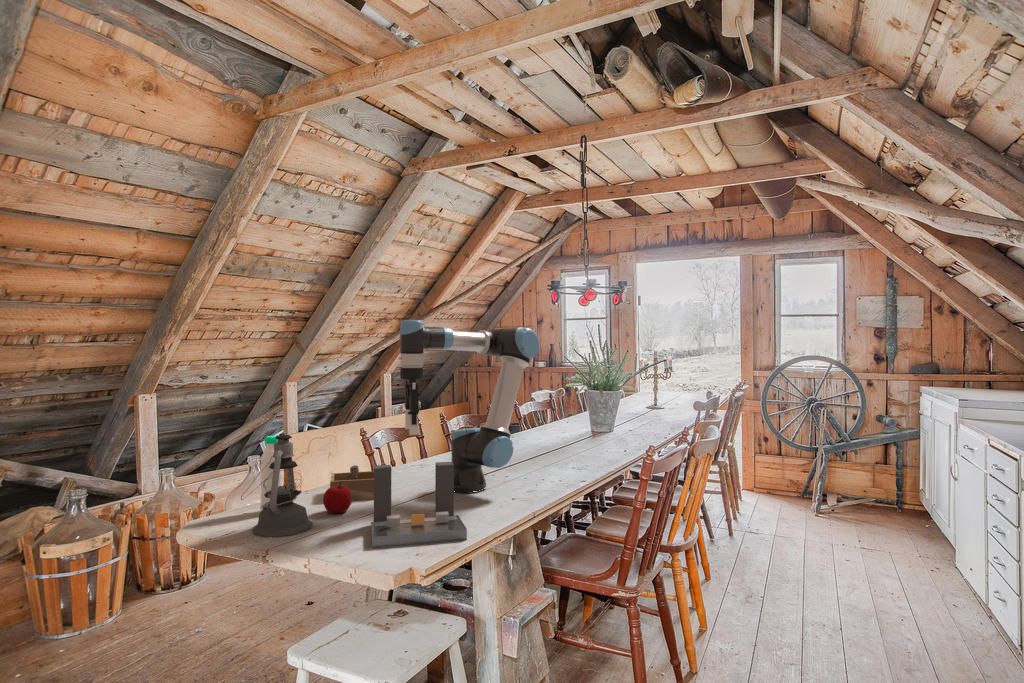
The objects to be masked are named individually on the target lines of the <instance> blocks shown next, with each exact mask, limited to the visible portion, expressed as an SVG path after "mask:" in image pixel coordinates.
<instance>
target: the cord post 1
mask: <svg viewBox="0 0 1024 683" xmlns="http://www.w3.org/2000/svg"><path fill="white" fill-rule="evenodd" d="M373 471H374V499H373V522H376V521H387V516H392V466H391V464H384V465H383V464H379V465H373Z"/></svg>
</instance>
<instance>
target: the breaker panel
mask: <svg viewBox="0 0 1024 683" xmlns="http://www.w3.org/2000/svg"><path fill="white" fill-rule="evenodd" d="M370 537H371V548H372V549H378V548H389V547H401V546H412V545H423V544H432V543H433V544H435V543H444V542H445V543H446V541H447V542H455V541H458V540H459V541H466V540H467V541H468V528H467V527H466V525H465V524H464V522H463V520H462V519H461V517H460V515H458V514H456V515H454V516H449V513H448V511H447V512H436V517H435V516H432V517H431V516H430V517H429V516H428V517H424V523H421V524H411V518H404V519H401V515H400V514H396V515H391V516H387V521H376V522H374V521H371V522H370ZM459 541H458V542H459Z"/></svg>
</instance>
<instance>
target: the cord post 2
mask: <svg viewBox="0 0 1024 683" xmlns="http://www.w3.org/2000/svg"><path fill="white" fill-rule="evenodd" d="M434 471H435V472H434V473H435V475H434V476H435V477H434V478H435V486H434V488H435V494H434V495H435V500H434V501H435V505H434V506H435V508H434V509H435V510H434V511H435V512H434V513H435V516H434V517H436V512H447V511H448V513H449V516H454V513H455V509H454V507H455V506H454V505H455V503H454V502H455V500H454V499H455V496H454V495H455V494H454V493H455V492H454V464H453V463H452V461H441V462H440V461H439V462H438V461H437V462H435V470H434Z"/></svg>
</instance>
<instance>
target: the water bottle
mask: <svg viewBox="0 0 1024 683" xmlns="http://www.w3.org/2000/svg"><path fill="white" fill-rule="evenodd" d="M276 436H277V435H274V434H273V435H267V436H265V437H264V445H265V447H266V448H265V449H264V450H263V453H262V454H261V456H260V463H261V465H260V471H261V470H262V469H263V468H264V467H265V466H266V465H267V464H268V463H269V462H270V463H269V464H268V465H267V466H266V467H265V468H264V469H263V470H262V471H261V473H260V484H261V483H262V482H263V481H264V480H265V479H266V478H267V477H268V476H269V475H270V474H271V473H272V472H273V471H274V469H270V468H269V466H270V464H271V463H272V462H274V461H275V458H273V457H272V455H273V454H274V444H275V443H278V439H275V437H276ZM271 457H272V459H271ZM270 459H271V461H270ZM280 470H285V469H280ZM284 472H285V471H280V474H279V482H278V487H279V486H284V479H285V476H284V475H285V473H284ZM271 475H272V476H271ZM271 475H270V476H271V477H270V476H269V477H270V478H272V479H273V473H272V474H271ZM269 477H268V480H266V481H265V483H264V482H263V483H264V485H265V486H266V487H265V488H266V489H265V488H264V486H263V483H262V484H261V485H260V490H261V491H260V506H262V505H264V504H265V503H267V502H269V501H270V498H266V497H265V496H264V494H265V493H266V492H267V491H271V488H270V487H272V479H269ZM266 490H267V491H266ZM260 506H259V508H260V510H259V511H260V512H261V511H262V510H263V508H262V507H260Z"/></svg>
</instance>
